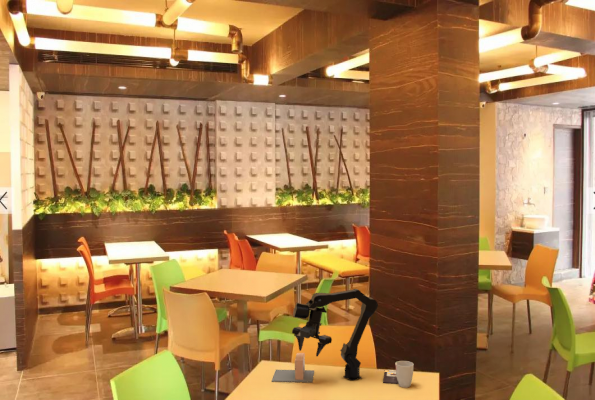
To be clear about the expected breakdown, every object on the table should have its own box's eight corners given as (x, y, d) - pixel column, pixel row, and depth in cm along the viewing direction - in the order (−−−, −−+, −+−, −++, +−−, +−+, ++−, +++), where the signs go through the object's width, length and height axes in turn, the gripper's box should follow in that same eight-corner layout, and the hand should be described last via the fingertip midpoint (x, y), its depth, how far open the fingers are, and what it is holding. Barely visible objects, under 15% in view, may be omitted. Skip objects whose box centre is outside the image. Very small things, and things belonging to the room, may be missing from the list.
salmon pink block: (304, 371, 266) (304, 353, 266) (302, 379, 254) (302, 360, 254) (297, 371, 266) (296, 352, 266) (294, 379, 254) (294, 360, 254)
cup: (402, 381, 252) (402, 359, 252) (417, 385, 246) (417, 363, 246) (391, 385, 247) (391, 363, 247) (407, 390, 241) (406, 367, 241)
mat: (314, 371, 267) (314, 370, 267) (312, 382, 251) (312, 381, 251) (275, 370, 269) (275, 369, 269) (271, 381, 253) (271, 380, 253)
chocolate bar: (382, 382, 250) (384, 369, 268) (382, 384, 250) (384, 371, 268) (402, 383, 248) (403, 370, 266) (402, 385, 248) (403, 372, 266)
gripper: (288, 316, 252) (282, 349, 252) (323, 327, 243) (317, 361, 242) (301, 314, 262) (295, 347, 261) (335, 325, 252) (328, 358, 252)
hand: (308, 353), depth 254 cm, fingers open, 9 cm apart
